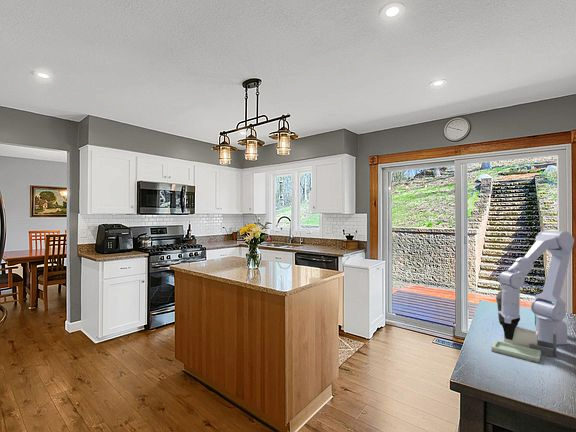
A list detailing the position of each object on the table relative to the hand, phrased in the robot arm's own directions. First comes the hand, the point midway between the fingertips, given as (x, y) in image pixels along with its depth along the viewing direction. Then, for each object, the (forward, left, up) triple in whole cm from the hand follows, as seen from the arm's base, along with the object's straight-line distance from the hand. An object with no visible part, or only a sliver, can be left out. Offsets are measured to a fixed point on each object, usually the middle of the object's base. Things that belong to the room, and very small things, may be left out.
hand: (509, 337), depth 121 cm
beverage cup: (-15, -20, -2) cm, 25 cm away
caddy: (-2, +2, -2) cm, 4 cm away
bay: (-7, +7, -2) cm, 10 cm away
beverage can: (-27, -13, -2) cm, 30 cm away
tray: (+5, +8, -2) cm, 10 cm away
